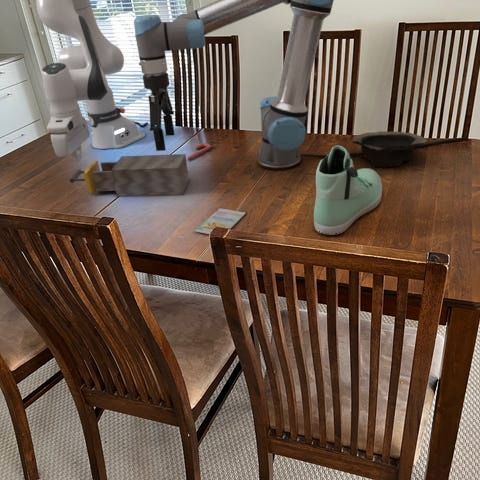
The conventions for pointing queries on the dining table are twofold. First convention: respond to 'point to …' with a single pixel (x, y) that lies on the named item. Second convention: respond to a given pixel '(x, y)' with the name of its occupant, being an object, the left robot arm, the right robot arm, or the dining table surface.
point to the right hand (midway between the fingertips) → (165, 142)
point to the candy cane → (200, 150)
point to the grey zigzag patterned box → (150, 175)
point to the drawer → (97, 177)
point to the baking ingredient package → (220, 220)
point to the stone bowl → (388, 147)
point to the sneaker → (343, 192)
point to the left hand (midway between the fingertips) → (78, 160)
